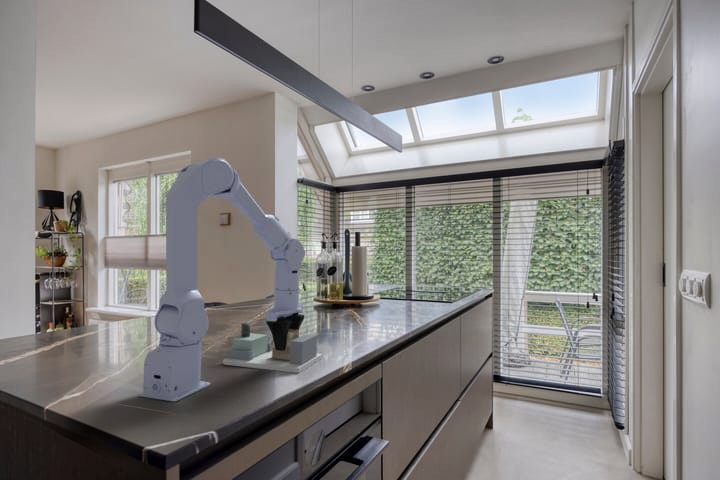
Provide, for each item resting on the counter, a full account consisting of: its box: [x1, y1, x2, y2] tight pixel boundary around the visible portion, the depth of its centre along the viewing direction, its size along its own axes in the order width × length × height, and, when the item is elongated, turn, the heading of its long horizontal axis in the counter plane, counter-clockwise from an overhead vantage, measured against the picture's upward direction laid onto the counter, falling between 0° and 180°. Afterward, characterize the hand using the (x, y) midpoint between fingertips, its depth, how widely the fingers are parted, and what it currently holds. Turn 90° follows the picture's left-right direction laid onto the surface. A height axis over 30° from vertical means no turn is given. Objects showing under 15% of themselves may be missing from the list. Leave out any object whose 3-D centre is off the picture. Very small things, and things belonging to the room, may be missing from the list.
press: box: [222, 334, 323, 374], centre depth 94 cm, size 13×19×6 cm
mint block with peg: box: [232, 322, 269, 358], centre depth 96 cm, size 7×5×7 cm
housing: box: [270, 329, 300, 360], centre depth 94 cm, size 4×6×6 cm
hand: (285, 347), depth 93 cm, fingers closed on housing, 4 cm apart
